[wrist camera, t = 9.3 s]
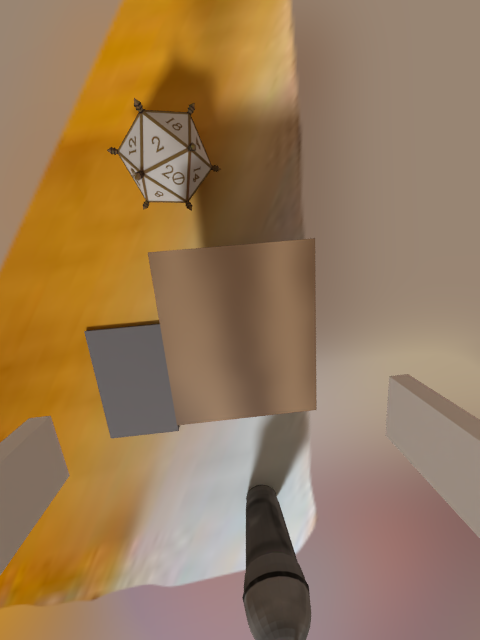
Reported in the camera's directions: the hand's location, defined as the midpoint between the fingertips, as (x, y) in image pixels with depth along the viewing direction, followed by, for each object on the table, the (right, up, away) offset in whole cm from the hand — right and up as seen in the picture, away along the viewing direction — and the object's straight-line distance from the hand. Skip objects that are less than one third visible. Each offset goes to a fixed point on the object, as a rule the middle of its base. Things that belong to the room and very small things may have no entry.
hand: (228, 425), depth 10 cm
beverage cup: (+4, -23, +29) cm, 37 cm away
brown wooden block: (0, +4, +14) cm, 15 cm away
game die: (-6, +20, +17) cm, 27 cm away
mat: (-13, -4, +23) cm, 26 cm away
